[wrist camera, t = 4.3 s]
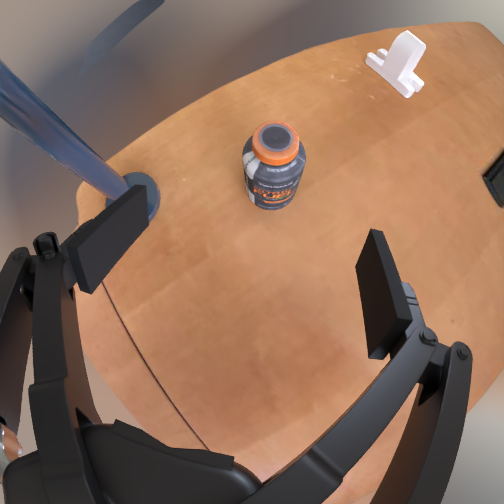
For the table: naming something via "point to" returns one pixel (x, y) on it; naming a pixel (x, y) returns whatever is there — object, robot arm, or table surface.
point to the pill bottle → (273, 165)
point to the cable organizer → (400, 63)
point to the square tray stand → (65, 142)
